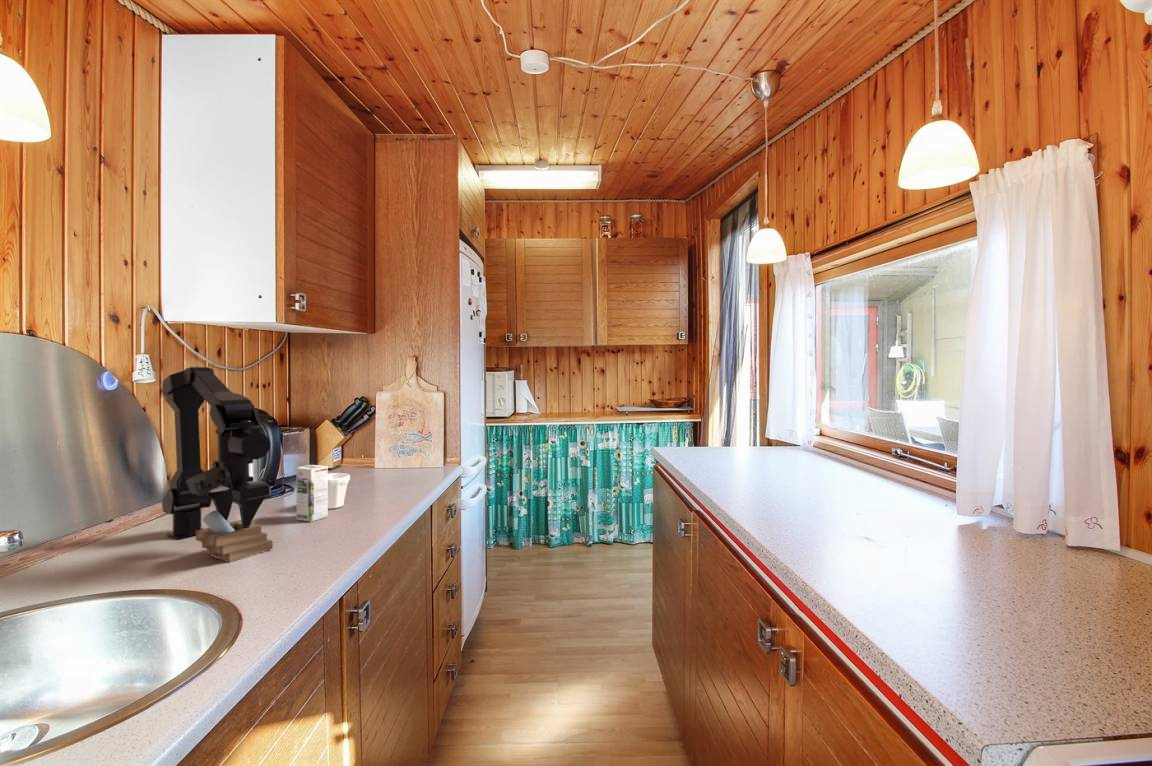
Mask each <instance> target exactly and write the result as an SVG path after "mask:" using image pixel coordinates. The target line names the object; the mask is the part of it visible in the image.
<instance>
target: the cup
mask: <svg viewBox="0 0 1152 766" xmlns="http://www.w3.org/2000/svg"><path fill="white" fill-rule="evenodd" d="M350 479H351V475H350V474H349V473H342V472H335V473H333V472H332V473H328V509H331V510H336V508H337V509H340V508H339V507H341V508H343V507H344V502H345V498H346V492H347V488H348V483H349V482H350Z"/></svg>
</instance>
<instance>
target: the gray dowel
mask: <svg viewBox="0 0 1152 766" xmlns="http://www.w3.org/2000/svg"><path fill="white" fill-rule="evenodd" d="M202 520H203V522H204V524H205V525H206V526H207V527H208V528H210V529H211V530H212V531H213V532H215V533H218V534H225V533H229V532H233V531H235V530H234V529H233V528H232V527H231V526H230V524H229V523H230V522H229V521H228V520H227V521H226V520H225V519H224V518H223V517H222V516H221V514H220V513H219V512H218V511H217V510H213V511H210V512H209V513H207V514H206V515H205V516H204V517H203V519H202Z"/></svg>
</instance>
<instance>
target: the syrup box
mask: <svg viewBox="0 0 1152 766" xmlns="http://www.w3.org/2000/svg"><path fill="white" fill-rule="evenodd" d="M328 467H329V466H328V465H318V464H317V465H316V464H307V465H303V466H299V467H298V466H297V467H296V521H304V522H309V523H312V521H313V522H316V521H318V520H321V519H325V518H328V516H329V515H328V514H329V513H328V511H329V510H328V474H329V473H328V469H329V468H328ZM315 520H316V521H315Z"/></svg>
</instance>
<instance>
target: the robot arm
mask: <svg viewBox="0 0 1152 766" xmlns="http://www.w3.org/2000/svg"><path fill="white" fill-rule="evenodd" d="M161 386H162V387H161V388H162V389H161V390H162V393H163V394H164V398H165V402H166V403H167V404H168V405H169V406H170V407H171V409H172V411H173V412H174V425H175V426H174V427H175V428H174V429H175V450H176V471H175V473H174V474H173V476H171V479H170V480H169V484H168V490H167V491H166V494H165V496H164V498H163V501H162V503H161V505H162V511H163V513H165V514H168V515H172V531H169V532H167V533H166V536H168V537H171V538H174V539H177V540H181V539H185V538H189V537H193V536H196V531H197V530H201V529H204V528H203V527H202V524H203V523H202V509H204V508H205V509H206V508H210V507H211V504H212V502H213V505H214V507H215V511H218V512H219V513H220V514H221V516H222V517H223V518H224V519H225V520H226V521H227V522H228V519H229V516H230V514H231V510H232V507H233V503H235V504H236V505H237V506H238V508H239V514H240V520H241V522H242V527H243V528H244V529H245V528H248V527H249V526H250V524H252V522H253V520H254V517H255V516H256V514H257V512H258V510H259V509H260V507H261V506H262V504H263V502H264V500H265V499H267V497H268V496H271V491H272V490H271V485H270V484H268V482H266V481H260V480H255V481H254V476H251V475H250V464H253V463H254V460H259V459H262V458H263V457H265V456H266V455H267V454H268V453H269V451H270V449H271V441H270V439H269V437H268V436H267V435H266V434H265V433H262V432H261V429H262V419H261V417H260V415H259V413H258V412H257V409H256V406H254V403H253V402H252V401H251V399H249V398H248V397H246V396H245V395H243V394H239V393H235V392H233V391H231V390H230V389H229V388H228V387H227V386H226V385H225V383H224V382H222V381H221V379H220V378H219V377H217V375H216V374H215V371H214V369H213V368H212V367H209V366H189V367H187V368H184V369H183V370H181V371H179V372H175V373H172V374H170V375H168V376H167V377H166V378H164V379H163V381H162V385H161ZM205 401H206V403H208V405H209V406H210V410H209V416H210V419H211V420H212V422H213V424H214V426H215V427H216V429H215V431H214V432H215V433H214V434H216V435H217V459H215V460H213V462H212V468H210V469H207V470H203V469H202V465H201V464H202V463H201V444H200V443H201V442H200V441H201V440H200V419H199V410H200V408H201V407H202V406H203V404H204V402H205Z"/></svg>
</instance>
